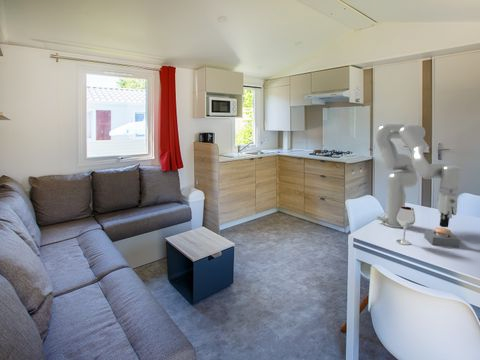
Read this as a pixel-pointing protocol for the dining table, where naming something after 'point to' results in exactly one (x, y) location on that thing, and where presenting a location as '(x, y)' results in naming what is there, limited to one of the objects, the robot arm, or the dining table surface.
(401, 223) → the wineglass
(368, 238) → the dining table surface
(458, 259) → the dining table surface
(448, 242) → the button box
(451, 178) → the robot arm
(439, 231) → the button
